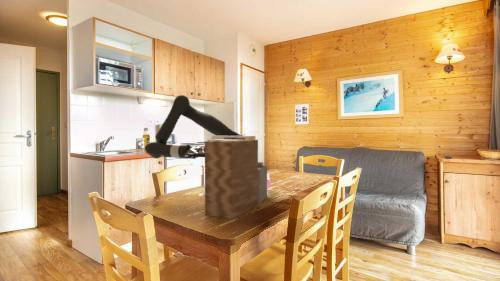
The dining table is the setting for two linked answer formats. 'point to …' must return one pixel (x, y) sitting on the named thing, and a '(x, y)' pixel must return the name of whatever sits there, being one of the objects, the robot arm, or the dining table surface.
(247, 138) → the t key
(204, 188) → the teacup and saucer
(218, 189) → the stand
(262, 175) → the hip flask
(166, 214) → the dining table surface
